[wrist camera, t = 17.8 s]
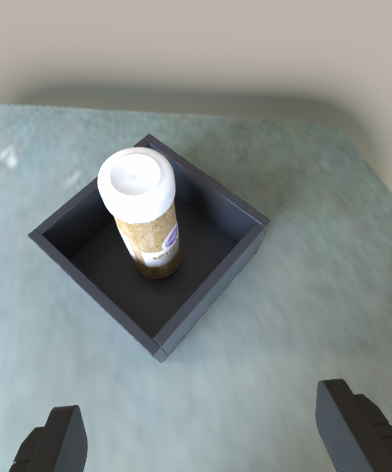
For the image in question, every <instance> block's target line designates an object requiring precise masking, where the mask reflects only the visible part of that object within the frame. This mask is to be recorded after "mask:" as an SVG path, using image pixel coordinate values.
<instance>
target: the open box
mask: <svg viewBox="0 0 392 472" xmlns="http://www.w3.org/2000/svg"><path fill="white" fill-rule="evenodd" d="M134 147H145V148H150V149H153V150H155V151H157V152H159V153H160V154H162V155H163V156H164V157H165V158H166V159H167V160H168V161H169V163H170V164H171V166H172V169H173V173H174V179H175V197H174V205H175V213H176V220H177V225H178V233H179V247H180V250H181V261H180V265H179V266H178V268H177V269H176V270H175V272H173V273H172V274H171V275H170V276H168V277H165V278H162V279H150V278H147V277H145V276H144V275H142V274H141V273H140V272H139V271H138V269H137V268H136V266H135V263H134V259H133V258H132V256H131V255H130V253H129V250H128V248H127V246H126V244H125V242H124V240H123V238H122V236H121V234H120V232H119V229H118V227H117V223H116V220H115V218H114V216H113V214H112V213H111V212H110V211H109V210H108V209H107V207H106V205H105V203H104V201H103V199H102V196H101V194H100V191H99V188H98V177H97V178H95V179H94V180H93V181H92V182H91V183H89V184H88V185H87V186H86V187H85V188H83V189H82V190H81V191H80V192H79V193H77V194H76V195H75V196H74V197H73V198H71V199H70V200H69V201H68V202H67V203H66V204H64V205H63V206H62V207H61V208H60V209H58V210H57V211H56V212H55V213H54V214H52V215H51V216H50V217H49V218H48V219H46V220H45V221H44V222H43V223H42V224H40V225H39V226H38V227H37V228H36V229H35V230H33V231H32V232H31V233H30V234H29V235H28V237H29V238H31V239H32V240H33V241H34V242H35V243H36V244H37V245H38V246H39V247H40V248H41V249H42V250H43V251H44V252H45V253H46V254H47V255H48V256H49V257H50V258H51V259H52V260H53V261H54V262H55V263H56V264H57V265H58V266H60V267H61V268H62V269H63V270H64V271H65V272H66V273H67V274H68V275H69V276H70V277H71V278H72V279H73V280H74V281H75V282H76V283H77V284H78V285H79V286H80V287H81V288H82V289H83V290H84V291H85V292H86V293H88V294H89V295H90V296H91V297H92V298H93V299H94V300H95V301H96V302H97V303H98V304H99V305H100V306H101V307H102V308H103V309H104V310H105V311H106V312H107V313H108V314H109V315H110V316H111V317H112V318H113V319H114V320H115V321H117V322H118V323H119V324H120V325H121V326H122V327H123V328H124V329H125V330H126V331H127V332H128V333H129V334H130V335H131V336H132V337H133V338H134V339H135V340H136V341H137V342H138V343H139V344H140V345H141V346H142V347H143V348H145V349H146V350H147V351H148V352H149V353H150V354H151V355H152V356H153V357H154V358H156V359H157V360H158V361H159V362H161V363H162V362H163V361H164V360H165V359H166V358H167V356H168V355H169V354H170V353H171V352H172V351H173V349H174V348H175V347H176V346H177V345H178V344H179V342H180V341H181V340H182V339H183V338H184V336H185V335H186V334H187V333H188V332H189V331H190V329H191V328H192V327H193V326H194V325H195V324H196V322H197V321H198V320H199V319H200V318H201V317H202V315H203V314H204V313H205V312H206V311H207V310H208V308H209V307H210V306H211V305H212V304H213V303H214V301H215V300H216V299H217V298H218V297H219V295H220V294H221V293H222V292H223V291H224V290H225V288H226V287H227V286H228V285H229V284H230V283H231V281H232V280H233V279H234V278H235V277H236V276H237V274H238V273H239V272H240V271H241V270H242V269H243V267H244V266H245V265H246V264H247V263H248V261H249V260H250V259H251V258H252V257H253V256H254V254H255V253H256V252H257V250H258V247H259V245H260V243H261V241H262V239H263V236H264V234H265V232H266V230H267V228H268V225H269V223H270V220H269V219H268V218H266V217H265V216H264V215H262V214H261V213H259V212H258V211H257V210H255V209H254V208H252V207H251V206H250V205H248V204H247V203H245V202H244V201H243V200H241V199H240V198H238V197H237V196H236V195H234V194H233V193H231V192H230V191H229V190H227V189H226V188H225V187H223V186H222V185H220V184H219V183H218V182H216V181H215V180H213V179H212V178H211V177H209V176H208V175H206V174H205V173H204V172H202V171H201V170H199V169H198V168H197V167H195V166H194V165H192V164H191V163H190V162H188V161H187V160H185V159H184V158H183V157H181V156H180V155H178V154H177V153H176V152H174V151H173V150H171V149H170V148H169V147H167V146H166V145H164V144H163V143H162V142H160V141H159V140H158V139H156V138H155V137H153V136H152V135H151V134H148V135H147V136H146V137H144V139H142V140H141V141H139V142H138V143H137V144H136V145H135V146H134Z"/></svg>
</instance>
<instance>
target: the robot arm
mask: <svg viewBox="0 0 392 472" xmlns="http://www.w3.org/2000/svg"><path fill="white" fill-rule="evenodd" d="M315 415H316V423H317V427H318V431H319V433H320V436H321V438H322V440H323V442H324V445H325V447H326V449H327V451H328V453H329V456H330V458H331V460H332V462H333V464H334V466H335V469H336V471H337V472H392V426H391V425H389V423H388V420H387V419H386V418H385V416H384V415H383V413H382V412H381V410H380V409H379V408H378V406H377V405H375V404H374V403H373V402H372V401H370V400H369V399H368V398H367V397H366V396H364V395H363V394H356V395H354V394H353V393H352V391H351V389H350V388H349V386H348V385H347V383H346V382H345V381H344V380H343V379H331V380H322V381H319V382H318V388H317V401H316V414H315ZM87 447H88V444H87V436H86V432H85V428H84V424H83V420H82V416H81V412H80V408H79V406H78V405H74V406H64V407H55V408H53V409H52V410H51V412H50V415H49V417H48V420H47V422H46V425H45V427H37V428H35V429H34V430H33V431H32V432H31V433H30V434H29V436H28V437H27V438H26V439H25V440H24V441H23V443H22V444H21V446H20V448H19V450H18V453H17V455H16V457H15V459H14V461H13V462H14V463H13V465H12V466H11V468H10V470H9V472H83V470H84V466H85V462H86V457H87Z"/></svg>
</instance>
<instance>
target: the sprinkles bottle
mask: <svg viewBox="0 0 392 472" xmlns="http://www.w3.org/2000/svg"><path fill="white" fill-rule="evenodd" d="M98 188H99V191H100V194H101V196H102V199H103V201H104V203H105V205H106V207H107V209H108V210H109V211H110V212H111V213H112V214H113V216H114V218H115V220H116V223H117V227H118V229H119V232H120V234H121V236H122V238H123V240H124V242H125V244H126V246H127V248H128V250H129V253H130V255H131V256H132V258H133V259H134V263H135V266H136V268H137V269H138V271H139V272H140V273H141V274H142V275H144V276H145V277H147V278H150V279H162V278H165V277H168V276H170V275H171V274H172V273H173V272H175V270H176V269H177V268H178V266H179V265H180V261H181V250H180V247H179V233H178V225H177V220H176V213H175V205H174V197H175V179H174V173H173V169H172V166H171V164H170V163H169V161H168V160H167V159H166V158H165V157H164V156H163V155H162V154H160V153H159V152H157V151H155V150H153V149H150V148H145V147H131V148H126V149H123V150H121V151H118V152H116V153H115V154H113V155H112V156H110V157H109V158H108V159H107V160H106V161H105V162H104V164H103V165H102V167H101V169H100V171H99V174H98Z"/></svg>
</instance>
